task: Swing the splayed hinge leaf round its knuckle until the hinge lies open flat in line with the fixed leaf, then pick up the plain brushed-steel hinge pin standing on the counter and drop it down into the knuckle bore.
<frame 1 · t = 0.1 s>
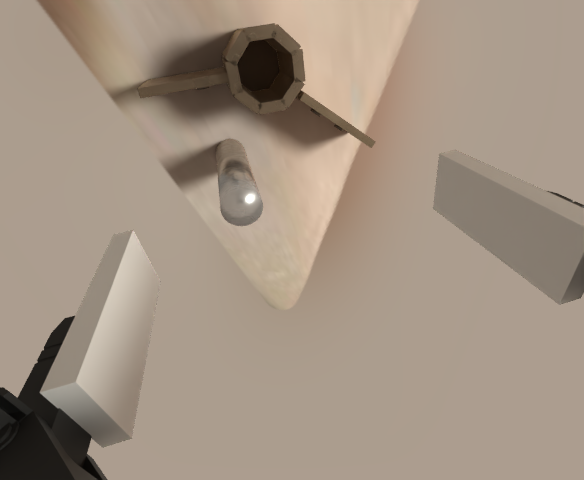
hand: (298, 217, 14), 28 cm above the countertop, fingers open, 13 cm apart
knuckle and fixed leaf: (256, 65, 35), on the countertop
hinge pin: (230, 153, 39), on the countertop
loose leaf: (329, 116, 36), point 3 cm above the countertop, hinge at 50.0°
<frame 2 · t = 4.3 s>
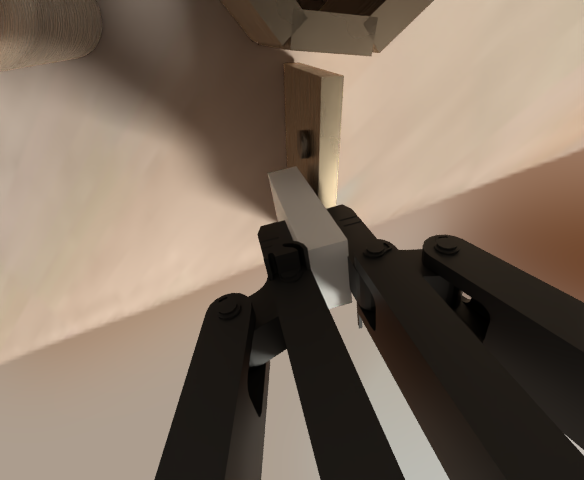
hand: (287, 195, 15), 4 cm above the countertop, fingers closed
hinge pin: (53, 9, 13), on the countertop
loose leaf: (304, 179, 16), point 3 cm above the countertop, hinge at 50.4°, touching gripper
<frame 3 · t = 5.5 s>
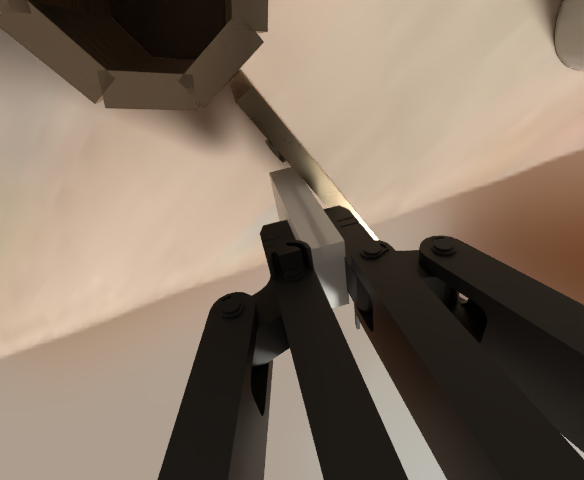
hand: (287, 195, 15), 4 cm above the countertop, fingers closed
loose leaf: (306, 168, 16), point 3 cm above the countertop, hinge at 87.9°, touching gripper
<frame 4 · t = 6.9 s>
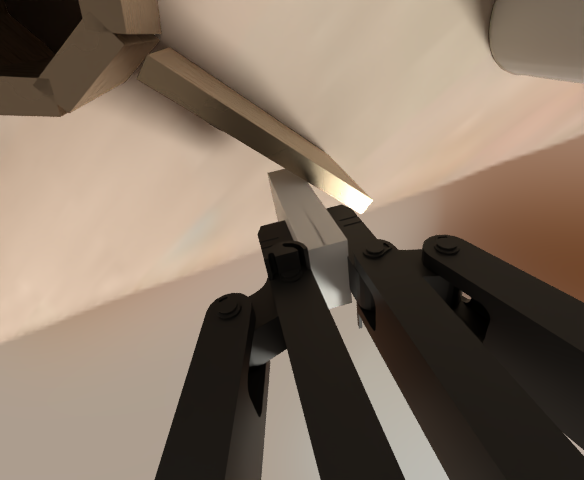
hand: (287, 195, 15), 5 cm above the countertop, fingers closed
bottle: (540, 9, 18), on the countertop
loose leaf: (262, 132, 15), point 3 cm above the countertop, hinge at 104.3°, touching gripper
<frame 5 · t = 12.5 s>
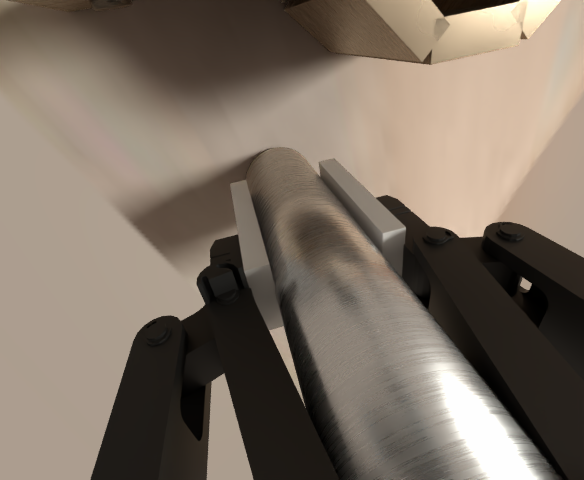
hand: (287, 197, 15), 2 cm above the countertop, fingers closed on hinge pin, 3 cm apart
hinge pin: (279, 180, 17), on the countertop, touching gripper
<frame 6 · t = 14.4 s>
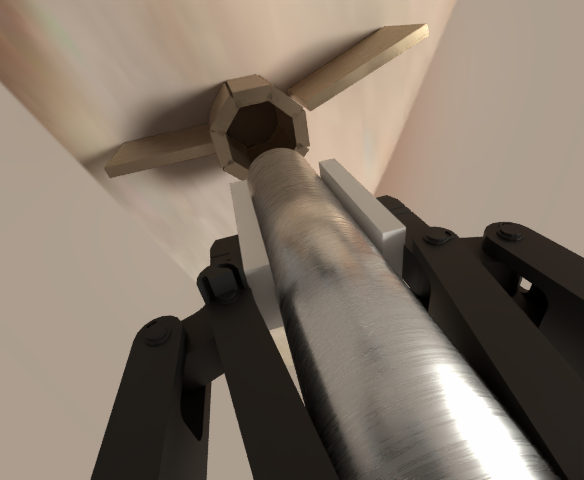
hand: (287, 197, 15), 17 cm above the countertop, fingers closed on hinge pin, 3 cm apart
knuckle and fixed leaf: (250, 118, 29), on the countertop
hinge pin: (279, 181, 17), point 15 cm above the countertop, touching gripper
loose leaf: (350, 67, 26), point 3 cm above the countertop, hinge at 109.2°
when the fingers open (9 cm above the countertop, at t = 16.6 s): hinge pin drops 5 cm, resting in knuckle and fixed leaf.
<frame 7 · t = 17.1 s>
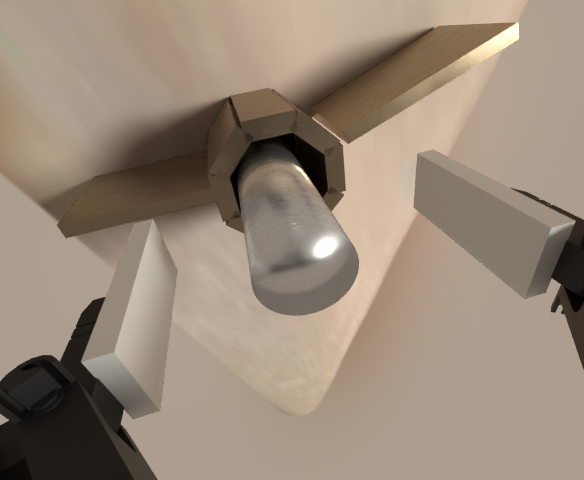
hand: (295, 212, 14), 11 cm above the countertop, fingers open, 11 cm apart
knuckle and fixed leaf: (261, 144, 23), on the countertop
hinge pin: (257, 145, 23), resting in knuckle and fixed leaf
loose leaf: (398, 81, 19), point 3 cm above the countertop, hinge at 109.2°
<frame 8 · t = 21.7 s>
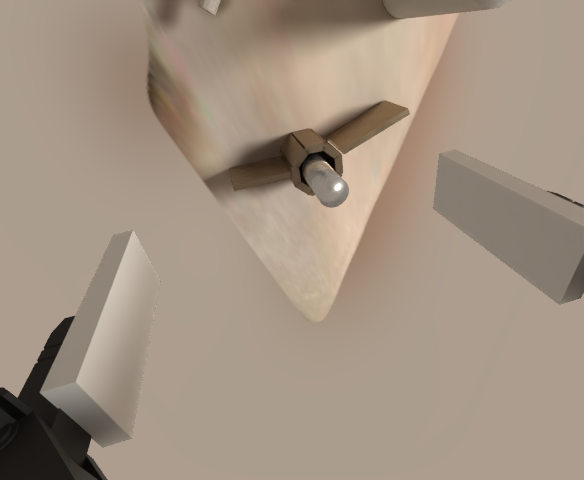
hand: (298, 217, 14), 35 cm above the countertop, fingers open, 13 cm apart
knuckle and fixed leaf: (303, 153, 48), on the countertop
hinge pin: (301, 153, 48), resting in knuckle and fixed leaf
loose leaf: (365, 127, 45), point 3 cm above the countertop, hinge at 109.2°
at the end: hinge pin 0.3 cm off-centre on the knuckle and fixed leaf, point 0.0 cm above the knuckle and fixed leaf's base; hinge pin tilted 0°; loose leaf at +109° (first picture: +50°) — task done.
